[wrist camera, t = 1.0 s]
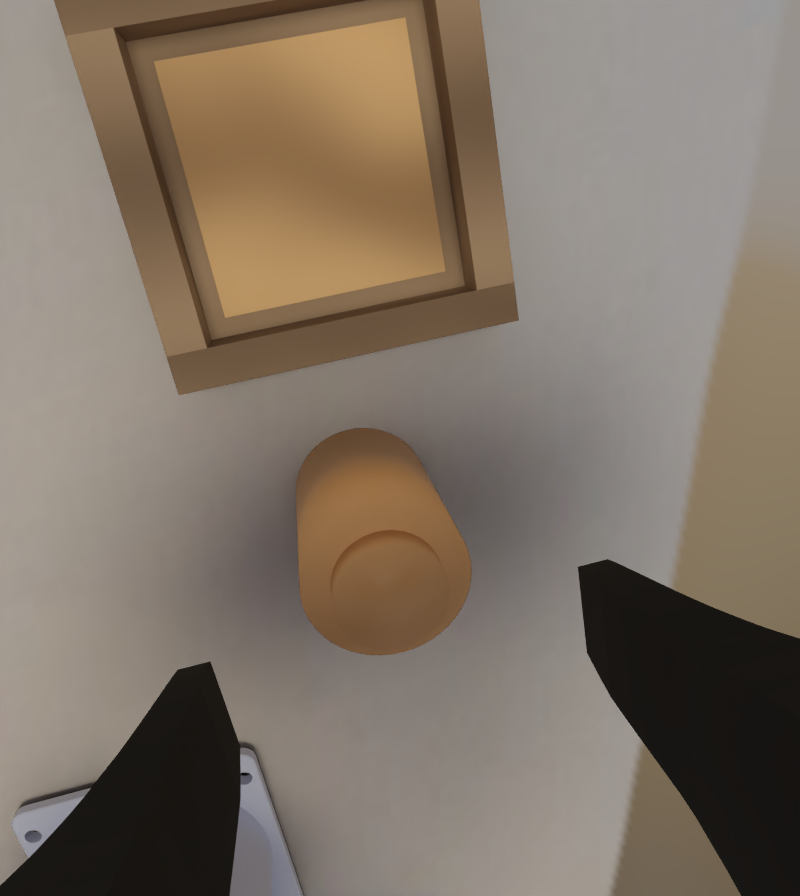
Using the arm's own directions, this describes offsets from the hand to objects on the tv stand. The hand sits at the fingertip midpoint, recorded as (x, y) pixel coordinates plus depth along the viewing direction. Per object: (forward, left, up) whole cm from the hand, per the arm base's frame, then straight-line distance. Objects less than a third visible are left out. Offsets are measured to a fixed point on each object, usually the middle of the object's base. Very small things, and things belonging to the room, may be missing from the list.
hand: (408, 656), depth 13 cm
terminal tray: (+9, 0, -8) cm, 12 cm away
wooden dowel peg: (0, 0, -8) cm, 8 cm away
